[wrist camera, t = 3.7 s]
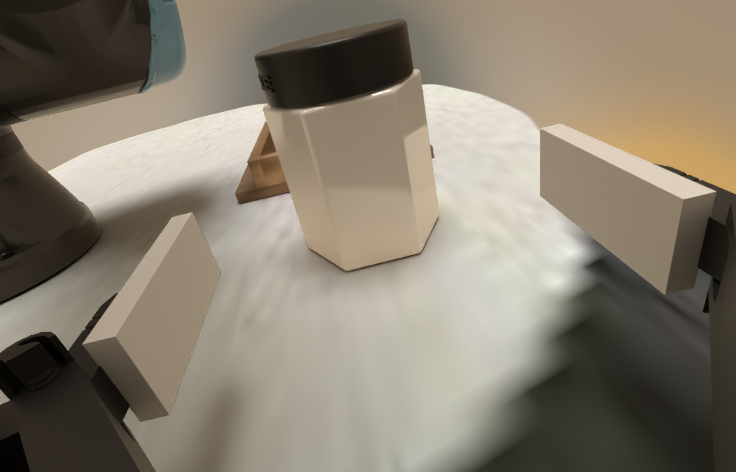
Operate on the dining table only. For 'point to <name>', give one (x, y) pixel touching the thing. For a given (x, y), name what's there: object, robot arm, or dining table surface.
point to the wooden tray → (264, 171)
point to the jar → (353, 142)
